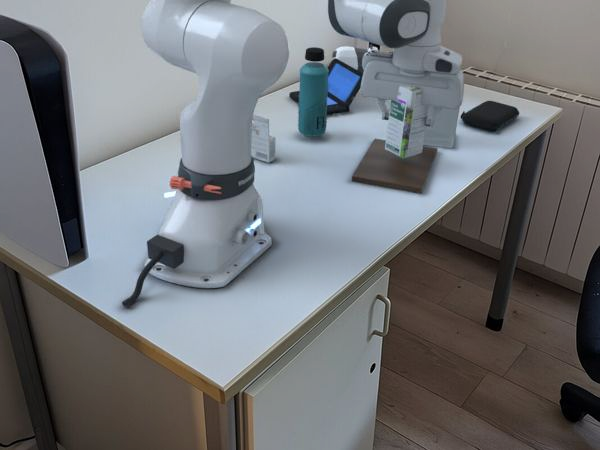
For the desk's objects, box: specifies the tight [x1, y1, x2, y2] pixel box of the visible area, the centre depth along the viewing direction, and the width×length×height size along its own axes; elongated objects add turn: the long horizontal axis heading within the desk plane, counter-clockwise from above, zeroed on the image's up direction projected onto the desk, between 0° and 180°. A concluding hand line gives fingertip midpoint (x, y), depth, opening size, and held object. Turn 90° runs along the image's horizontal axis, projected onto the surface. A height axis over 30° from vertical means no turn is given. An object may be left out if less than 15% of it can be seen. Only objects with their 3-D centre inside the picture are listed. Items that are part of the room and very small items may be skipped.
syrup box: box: [385, 86, 429, 159], centre depth 137 cm, size 6×6×14 cm
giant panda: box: [331, 43, 379, 73], centre depth 186 cm, size 15×6×10 cm, turn 93°
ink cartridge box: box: [251, 114, 276, 164], centre depth 141 cm, size 2×11×10 cm, turn 56°
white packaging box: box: [423, 106, 461, 149], centre depth 150 cm, size 7×7×13 cm
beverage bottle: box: [297, 46, 329, 137], centre depth 148 cm, size 6×7×20 cm
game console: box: [288, 58, 363, 116], centre depth 169 cm, size 16×14×9 cm
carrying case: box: [460, 100, 520, 133], centre depth 164 cm, size 11×3×15 cm
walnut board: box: [351, 138, 439, 195], centre depth 141 cm, size 20×14×1 cm
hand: (407, 122), depth 138 cm, fingers closed on syrup box, 7 cm apart
